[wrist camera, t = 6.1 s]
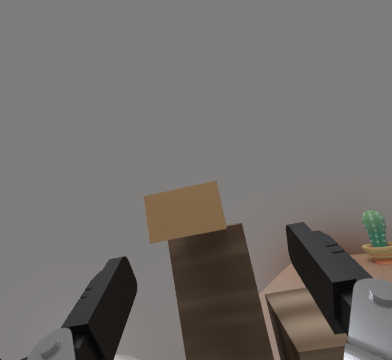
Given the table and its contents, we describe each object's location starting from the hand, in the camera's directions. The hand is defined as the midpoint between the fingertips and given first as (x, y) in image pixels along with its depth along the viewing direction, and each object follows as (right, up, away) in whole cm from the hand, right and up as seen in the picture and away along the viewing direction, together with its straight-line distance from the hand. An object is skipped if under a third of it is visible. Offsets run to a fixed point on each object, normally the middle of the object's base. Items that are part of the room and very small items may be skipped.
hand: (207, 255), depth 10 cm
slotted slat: (+1, -1, +12) cm, 12 cm away
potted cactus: (+91, -36, +91) cm, 134 cm away
